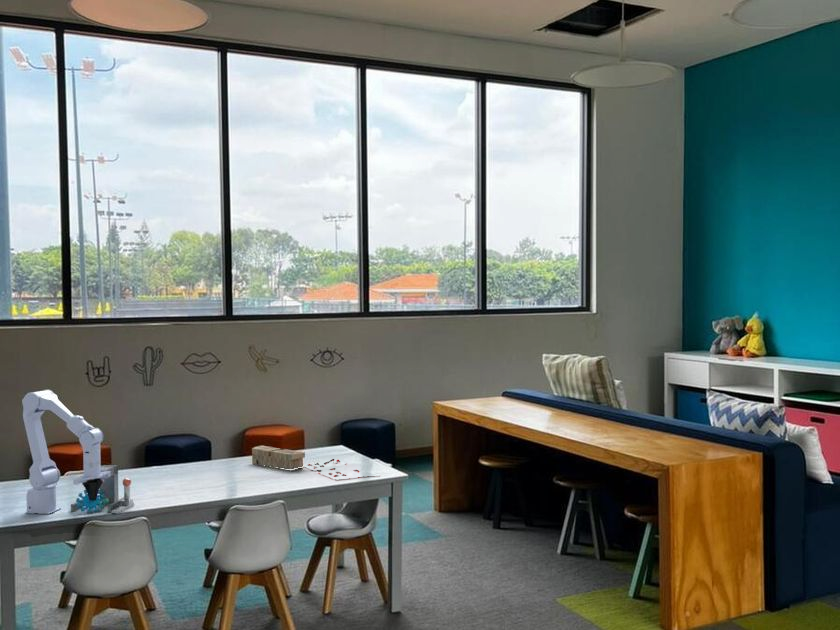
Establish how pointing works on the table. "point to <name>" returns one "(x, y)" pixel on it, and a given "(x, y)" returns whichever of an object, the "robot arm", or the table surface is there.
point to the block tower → (277, 457)
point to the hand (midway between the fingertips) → (92, 500)
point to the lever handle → (126, 492)
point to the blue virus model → (91, 502)
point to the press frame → (109, 491)
